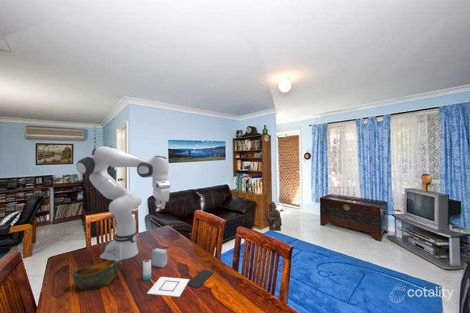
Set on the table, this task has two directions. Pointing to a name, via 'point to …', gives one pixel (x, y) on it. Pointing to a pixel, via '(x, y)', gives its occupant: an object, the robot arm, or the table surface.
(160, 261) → the medicine box
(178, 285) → the paper
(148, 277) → the marker
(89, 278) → the green oval bowl
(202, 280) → the phone
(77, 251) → the table surface
